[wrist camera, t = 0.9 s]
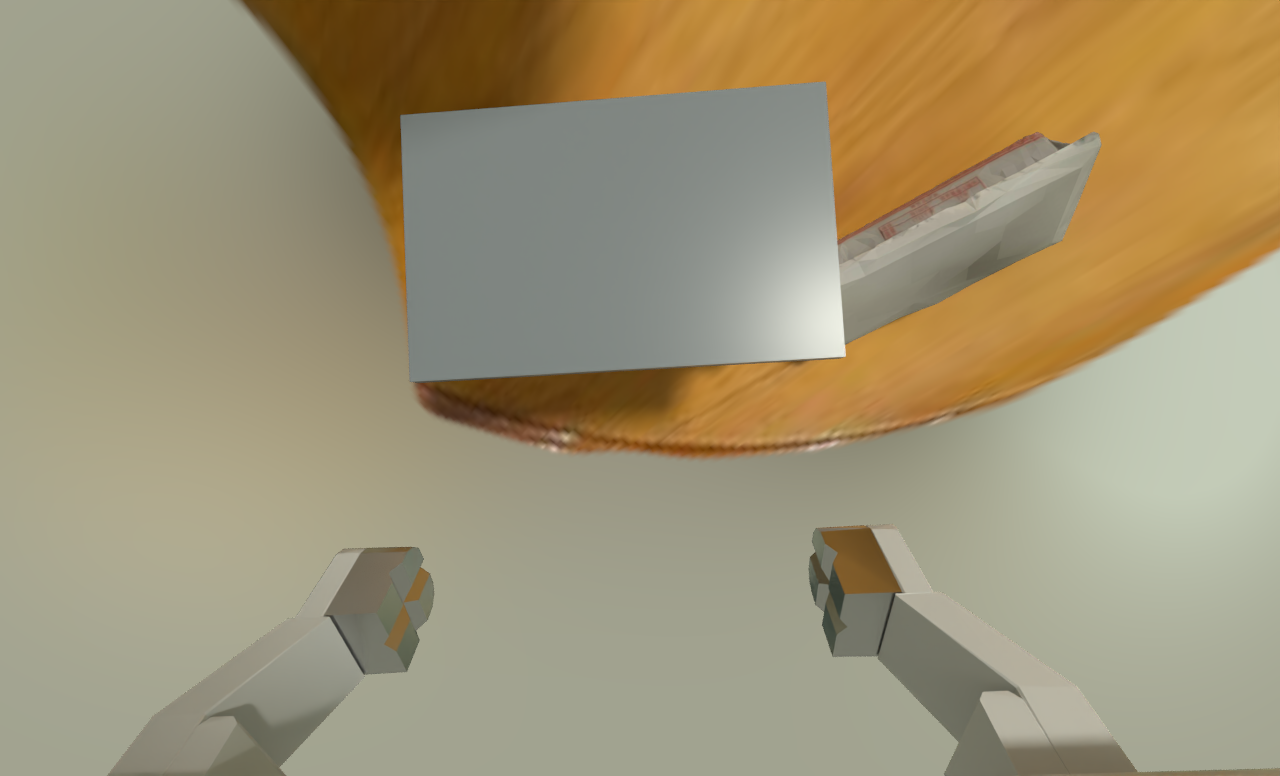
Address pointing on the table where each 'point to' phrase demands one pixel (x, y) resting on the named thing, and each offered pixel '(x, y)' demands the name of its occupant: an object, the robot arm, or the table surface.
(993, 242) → the packaged product
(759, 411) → the table surface
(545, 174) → the lid
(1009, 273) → the table surface
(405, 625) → the robot arm
